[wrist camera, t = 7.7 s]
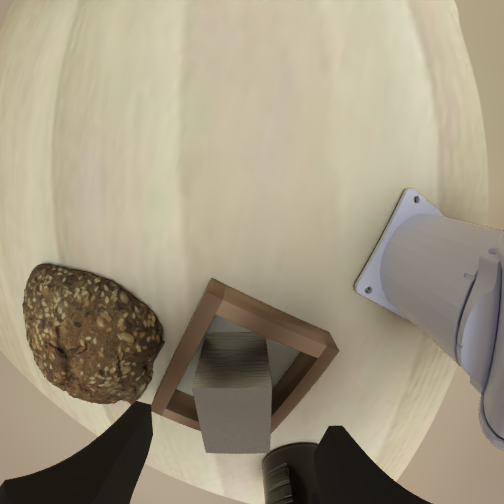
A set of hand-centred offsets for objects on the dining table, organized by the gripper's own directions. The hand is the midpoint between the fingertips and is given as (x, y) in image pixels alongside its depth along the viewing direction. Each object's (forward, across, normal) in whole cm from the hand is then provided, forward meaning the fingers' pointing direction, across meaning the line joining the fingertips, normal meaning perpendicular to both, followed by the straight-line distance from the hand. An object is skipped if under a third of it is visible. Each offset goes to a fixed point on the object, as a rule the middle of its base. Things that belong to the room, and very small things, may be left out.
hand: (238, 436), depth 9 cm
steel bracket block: (+9, 0, +3) cm, 10 cm away
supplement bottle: (+10, -8, +15) cm, 20 cm away
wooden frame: (+9, 0, +3) cm, 10 cm away
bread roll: (+10, +12, +4) cm, 16 cm away
